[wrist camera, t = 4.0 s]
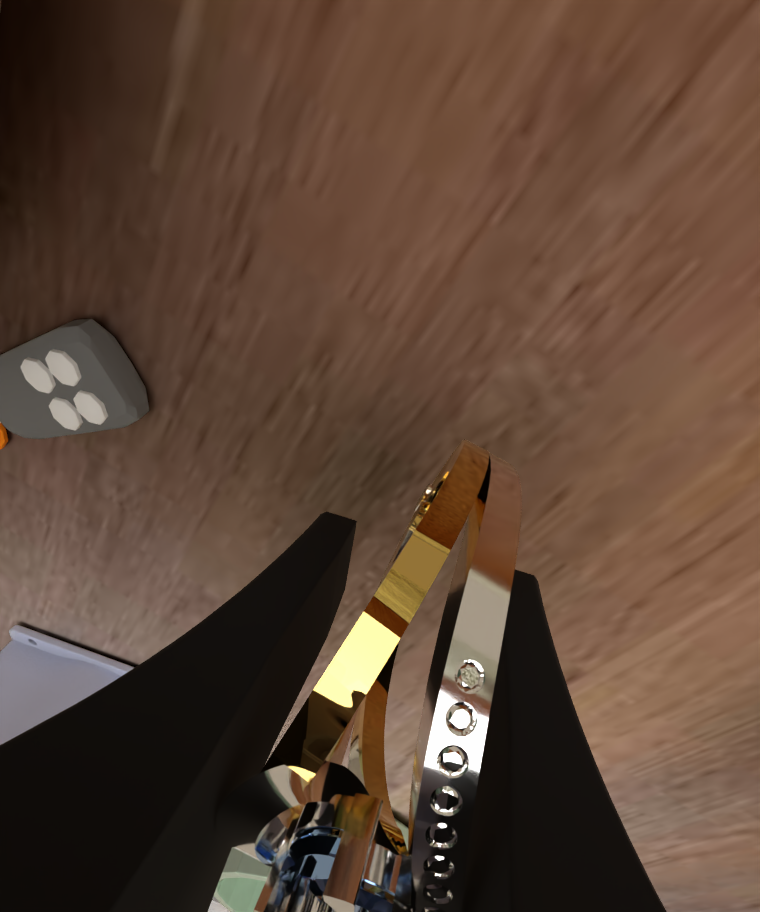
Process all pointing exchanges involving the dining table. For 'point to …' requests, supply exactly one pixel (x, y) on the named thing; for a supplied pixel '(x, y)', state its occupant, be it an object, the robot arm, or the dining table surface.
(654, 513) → the dining table surface
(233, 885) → the celadon bowl
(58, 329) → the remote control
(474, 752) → the ring
